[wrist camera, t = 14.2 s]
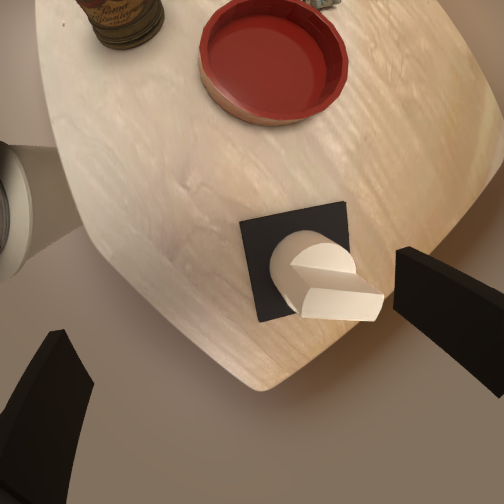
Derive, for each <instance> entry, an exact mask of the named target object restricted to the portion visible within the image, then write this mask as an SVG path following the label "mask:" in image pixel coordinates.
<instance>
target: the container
mask: <svg viewBox="0 0 504 504" xmlns="http://www.w3.org/2000/svg"><path fill="white" fill-rule="evenodd" d="M76 2H77V3H78V4H79V5H80V7H81V8H82V9H83V11H84V12H85V13H86V15H87V16H88V19H89V22H90V23H91V24H92V26H93V30H94V32H95V34H96V36H97V38H98V40H99V41H100V42H101V43H102V44H103V45H105V46H107V47H110V48H113V49H128V48H132V47H136V46H138V45H140V44H143V43H144V42H146V41H147V40H149V39H150V38H151V37H152V36H154V35H155V34H156V32H157V31H158V30H159V28H160V27H161V25H162V22H163V19H164V9H163V6H162V3H161V0H76Z"/></svg>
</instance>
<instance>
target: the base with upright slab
mask: <svg viewBox="0 0 504 504" xmlns="http://www.w3.org/2000/svg"><path fill="white" fill-rule="evenodd" d="M269 269H270V274H271V278H272V280H273V282H274V284H275V286H276V287H277V289H278V290H279V292H280V293H281V295H282V296H283V298H284V299H285V301H286V303H287V304H288V305H289V307H290V308H291V309H292V310H293V311H294V312H296V313H298V314H300V316H301V317H302V318H316V319H334V320H356V321H375V319H376V318H377V316H378V314H379V312H380V310H381V308H382V303H383V300H384V294H383V293H381V292H380V291H379V290H377V289H376V288H375V287H373V286H372V285H371V284H369V283H368V282H367V281H365V280H364V279H362V278H361V277H360V276H358V275H357V274H356V267H355V264H354V261H353V258H352V257H351V255H350V254H349V252H348V251H346V250H345V249H344V248H343V247H341V246H340V245H338V244H336V243H335V242H333V241H331V240H330V239H328V238H326V237H325V236H323V235H321V234H320V233H317V232H314V231H307V230H302V231H298V232H294V233H292V234H290V235H288V236H286V237H285V238H284V239H283V240H282V241H281V242H279V244H278V245H277V247H276V248H275V249H274V251H273V254H272V256H271V259H270V268H269Z"/></svg>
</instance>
